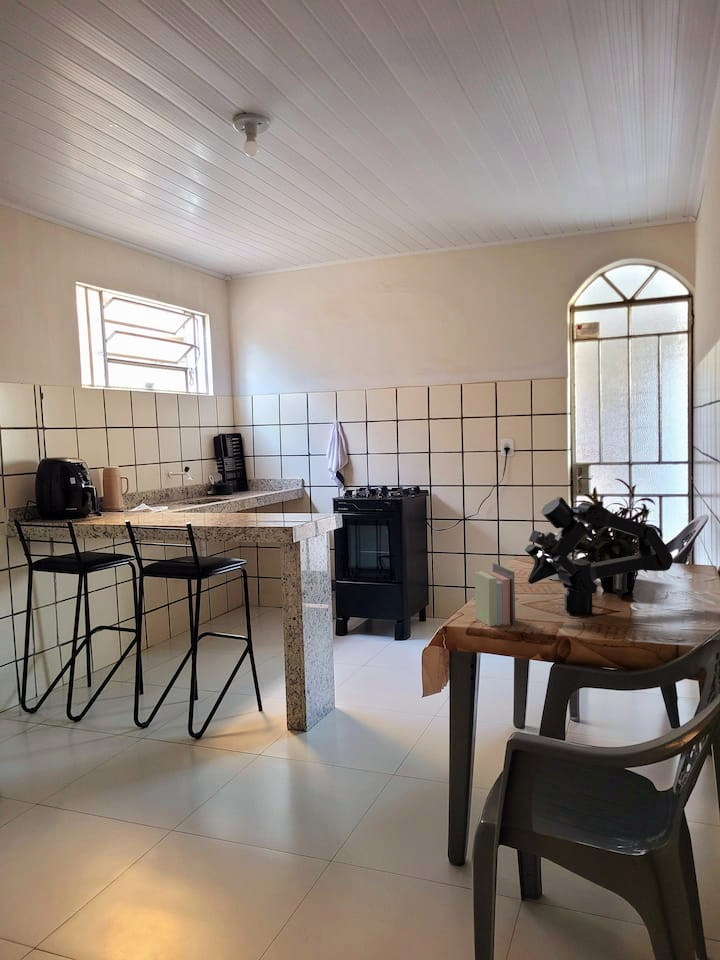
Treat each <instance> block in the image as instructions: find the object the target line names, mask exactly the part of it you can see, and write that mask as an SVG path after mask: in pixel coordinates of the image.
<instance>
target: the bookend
mask: <svg viewBox="0 0 720 960" xmlns="http://www.w3.org/2000/svg"><path fill="white" fill-rule="evenodd" d="M492 572H495V573H498V574H500V575H502V576H504V577H506V578H508V579H510V625H511V626H514V625H515V626H516V595H515V594H516V591H515V590H516V589H515V583H516V582H515V572H514V571H513V570H510V569H508V568H505V567H504V566H502V565H500V564H499V565H498V564H497V563H492ZM515 626H514V627H515Z"/></svg>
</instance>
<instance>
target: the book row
mask: <svg viewBox="0 0 720 960" xmlns="http://www.w3.org/2000/svg"><path fill="white" fill-rule="evenodd" d="M474 591H475V593H474V594H475V595H474V600H475V607H474V608H475V609H474V610H475V618H476V620H478V621H479V622H480V621H481V623H483V624H485V625H486V624H487V625H486V626H488V627H489V626H490V627H496V626H495V625H497V626H508V625H507V624H510V579H508V578H506V577H504V576H502V575H500V574H498V573H495V572H493V571H492V572H488V573H486V572H484V571H475V572H474ZM501 624H503V625H501ZM510 625H511V624H510Z"/></svg>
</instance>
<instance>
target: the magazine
mask: <svg viewBox="0 0 720 960" xmlns="http://www.w3.org/2000/svg"><path fill="white" fill-rule="evenodd" d="M638 576H639V571H636V575H635V581H636V579H637V577H638ZM612 591H613V592H615V593H616V594H617V597H618V598H622V597H623V595H624V594H625V593H628V592H629V591H628V589H627V573H624V574H619V575H614V576H612Z"/></svg>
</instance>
